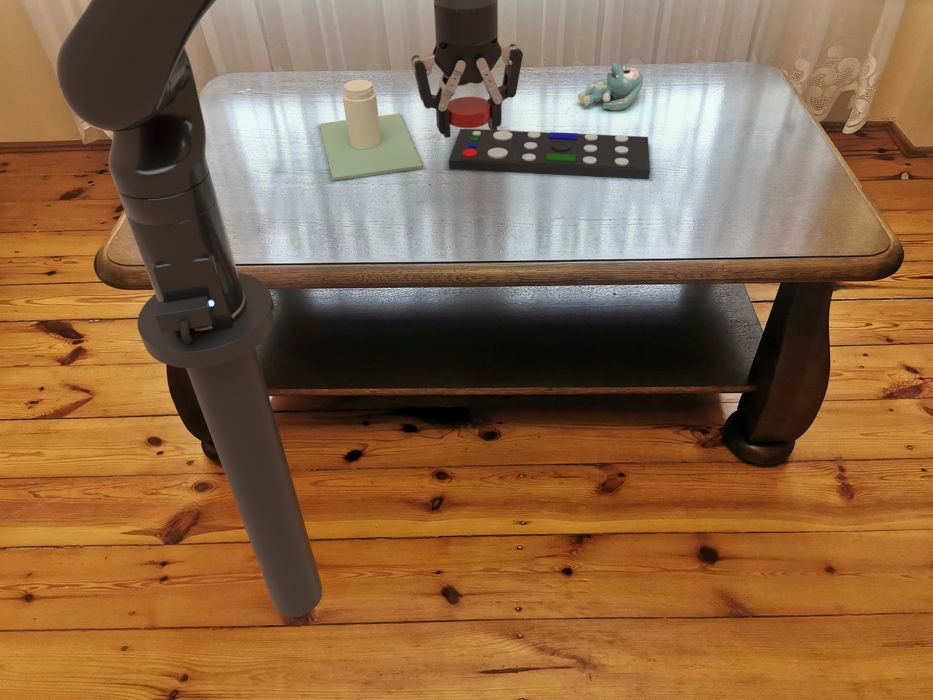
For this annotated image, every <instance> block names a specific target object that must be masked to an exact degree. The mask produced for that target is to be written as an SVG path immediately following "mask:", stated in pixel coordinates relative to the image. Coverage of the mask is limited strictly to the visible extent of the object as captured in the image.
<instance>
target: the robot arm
mask: <svg viewBox="0 0 933 700" xmlns="http://www.w3.org/2000/svg"><path fill="white" fill-rule="evenodd" d="M216 2H217V0H90V2H89V3H88V5H87V7H86V8H85V10H84V11H83V12H82V14H81V15H80V17H79V18H78V20H77V21H76V23H75V24H74V25H73V27H72V28H71V29H70V31H69V32H68V33H67V35H66V37H65V38H64V40H63V41H62V43H61V45H60V47H59V50H58V54H57V59H56V77H57V83H58V86H59V89H60V91H61V95H62V97H63V99H64V101H65V102H66V103H67V105H68V107H69V108H70V109H71V111H72V112H73V113H74V114H75V115H76V116H77V118H79V119H80V120H81V121H83V122H84V123H86V124H87V125H89V126H91V127H94V128H96V129H100V130H102V131H108V132H112V140H111V146H110V150H109V155H108V162H107V163H108V170H109V173H110V175H111V179H112V182H113V184H114V186H115V187H114V188H115V189H116V191H117V195H118V197H119V200H120V204H121V205H122V209H123V211H124V213H125V217H126V219H127V222H128V225H129V227H130V230H131V233H132V236H133V239H134V241H135V243H136V244H135V245H136V246H137V248H138V252H139V254H140V257H141V260H142V262H143V265H144V268H145V270H146V273H147V275H148V278H149V281H150V284H151V286H152V289H153V292H154V294H156V297H157V300H158V302H156V310H155V317H156V320H157V323H158V325H159V328H160V331H161V333H166V332H172V331H175V333H176V336H177V337H178V338H179V337H182V340H183V341H184V342H185V343H187V344H190V343H192V342H193V338H192V337H191V335H197V334H204V333H209V332H215V331H221V330H227V329H231V328H233V322H234V321H235V320H237V319H238V318H239V317H240V316H241V314H242V313H243V312H244V310H245V307H246V298H245V294H244V291H243V289H242V286H241V283H240V279H239V276H238V269H237V266H236V262H235V258H234V255H233V251H232V248H231V244H230V241H229V236H228V234H227V229H226V226H225V222H224V219H223V215H222V211H221V207H220V206H219V201H218V197H217V194H216V190H215V185H214V182H213V178H212V175H211V172H210V168H209V163H208V159H207V153H206V149H207V130H206V124H205V118H204V114H203V110H202V107H201V106H202V105H201V103H200V102H201V101H200V97H199V91H198V90H197V89H198V88H197V84H196V79H195V75H194V72H193V68H192V64H191V60H190V57H189V54H188V51H187V49H186V45H187V43H188V41H189V40H190V38H191V36H192V34H193V32H194V30H195V29H196V27H197V26H198V24H199V23H200V21H201V20H202V18H203V17H204V16H205V14H206V13H207V12H208V10H209V9H210V8H211V7H212V6H213V5H214V4H215V3H216ZM498 2H499V1H498V0H433V11H434V30H435V31H434V32H435V46H434V49H433V51H432V53H431V54H427V55H423V56H420V55H417V54H416V55H413V56H412V57H411V64H412V69H413V73H414V77H415V81H416V85H417V89H418V93H419V97H420V101H421V102H422V103H423V106H424V108H425V109H435V116H436V127H437V129H438V131H439V133H440V134H441V135H443V137H444V139H446V138H451V136H452V135H451V124H450V113H449V110H448V105H449V102H450V101H451V100H452V98H453V96H454V95H455V93H456V90H457V88H458V87H460V86H461V87H462V86H466V85H468V84H475V85H476V84H483V86H484V87H485V90H486V92H487V94H488V96H489V98H487V101H488V102H489V103H490V105H491V119H490V121H489V122H488V123H487V125H488V129H489V130H491V132H492V131H497V130H498V127H501V125H502V121H503V120H502V119H503V118H502V109H503V108H502V107H503V106H502V105H503V102H504V101H505V100H507V99H509V98H510V99H513V98H515V96H516V95H517V92H518V91H517V90H518V86H519V80H520V74H521V69H522V68H521V67H522V62H523V56H524V53H523V51H522V50H521V48H519V47H518V45H517V44H516V43H511V44H509V46H503V45H500V43H499V39H498V37H499V35H498V34H499V32H498V31H499V25H498V24H499V21H498V19H499V15H498V14H499V12H498V9H499V5H498V4H499V3H498ZM501 57H502V62H503V63H504V71H503V78H502V84H501V85H500V86H498V84H497V82H496V80H495V77H494V76H493V74H492V70H493V69H494V67H495V66H496V64H497V63H498V61H499V60H500V58H501ZM434 65H436V66H437V67H438V68H439V69H440V71H441V72H442V74H441V76H440V79H439V82H438V88H437V90H436V94H432V91H431V87H430V82H429V79H428V76H430V75H431V74H432V68H433V66H434Z"/></svg>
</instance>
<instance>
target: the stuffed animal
mask: <svg viewBox="0 0 933 700" xmlns="http://www.w3.org/2000/svg"><path fill="white" fill-rule="evenodd" d="M643 82H644V78H643V74H642V73H641V71H639V70H638V69H637V68H635V67H634V66H632V65H631V64H629V63H625V64H623V65H621V64H619V63H617V62H614V63H612V64H611V68H610V70H609V71H608V72H607V75H606V78H602V79H599V80H598V79H597V80H595V81H593V82H591V83H590V84H588V86H587V87H586V88H585V91H582V92H579V93H578V94H577V101H579V102H580V103H582V104H583V105H584V106H588V105H590V104H592V103H594V101H595V102H601V101H603V103H602V109H607V110H609V111H610V110H611V111H620V110H621V111H622V110H624V109H626V108H628V107H629V106H630V105H631V104H632V103H633V102H634V101H635V100H636V99H637V98H638V97H639V95H640V93H641V90H642V88H643ZM611 97H612V98H614V99H615V100H612V101H611Z"/></svg>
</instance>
